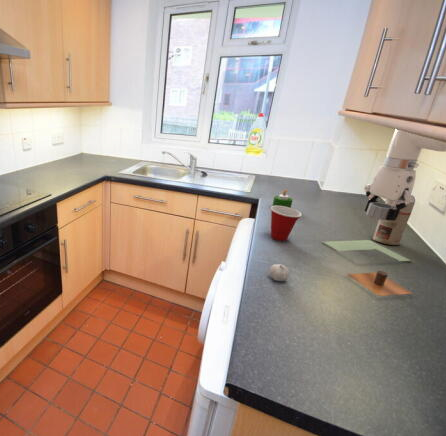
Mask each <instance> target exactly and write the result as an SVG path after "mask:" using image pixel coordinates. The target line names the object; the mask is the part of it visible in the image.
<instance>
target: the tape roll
mask: <svg viewBox="0 0 446 436" xmlns="http://www.w3.org/2000/svg"><path fill="white" fill-rule="evenodd" d="M389 209H392V205H390V204H386V203H385V202H379V201H378V202H371V203H370V204H369V206H368V209H367V212H365V215H366V216H367V217H369V218H372V219H375V220H379V219H380V220H386V217H387V214H388V211H389Z"/></svg>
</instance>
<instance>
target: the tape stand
mask: <svg viewBox="0 0 446 436" xmlns="http://www.w3.org/2000/svg"><path fill="white" fill-rule="evenodd" d="M388 274H389V273H387V272H386V271H383V270H377V271H376V272H363V273H362V272H361V273H360V272H359V273H346V275H347V276H348V277H350V278H351V279H353V280H354V281H355V282H357V283H359V284H361V285H362V286H363V287H365V288H367V289H368V290H369V291H370V292H372V293H374V294H375V295H377V296H378V297H381V296H383V297H385V296H397V295H412V294H414V293H413V292H412V291H410V290H409V289H407V288H405V287H404V286H402V285H400V284H398V283H396V282H395V281H393V280H392V279H389V278H388Z"/></svg>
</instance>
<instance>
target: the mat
mask: <svg viewBox="0 0 446 436" xmlns="http://www.w3.org/2000/svg"><path fill="white" fill-rule="evenodd" d="M322 243H323V244H324V245H325V246H328V247H329V248H330V249H332V250H334V251H335V252H342V251H343V252H344V251H345V252H347V251H365V250H366V251H367V250H368V251H369V250H377V251H379V252H381V253H383V254H385V255H387V256H388V257H391V258H392V259H395V260H397V261H399V262H401V263H406V262H411V259H409V258H406V257H405V256H402V255H400V254H399V253H396V252H395V251H392V250H390V249H388V248H386V247H384V246H382V245H380V244H378V243H376V242H375V241H372V240H370V239H360V240H359V239H358V240H334V241H322Z"/></svg>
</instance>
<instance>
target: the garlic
mask: <svg viewBox="0 0 446 436" xmlns="http://www.w3.org/2000/svg"><path fill="white" fill-rule="evenodd" d="M290 273H291V271H290V270H289V268H287V266H285V265H283V264H279V263H276V264H273V265H271V266H270V268H269V276H270V277H271V278H272V279H273V280H274V281H276V282H284V281H287V280H288V278H289V277H290V275H291V274H290Z"/></svg>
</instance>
